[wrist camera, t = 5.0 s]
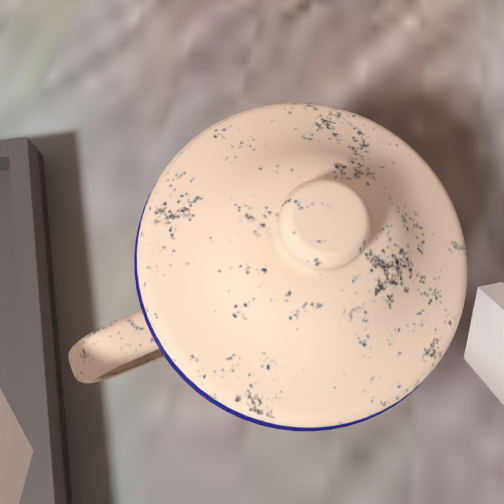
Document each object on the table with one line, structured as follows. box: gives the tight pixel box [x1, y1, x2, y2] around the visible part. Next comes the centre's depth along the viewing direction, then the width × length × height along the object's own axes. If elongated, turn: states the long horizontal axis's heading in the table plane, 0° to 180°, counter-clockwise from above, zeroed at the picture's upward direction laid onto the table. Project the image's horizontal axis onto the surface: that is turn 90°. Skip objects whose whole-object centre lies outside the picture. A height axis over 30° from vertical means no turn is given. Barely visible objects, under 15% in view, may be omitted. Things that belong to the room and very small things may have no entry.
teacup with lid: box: [69, 103, 467, 431], centre depth 15 cm, size 12×9×12 cm
